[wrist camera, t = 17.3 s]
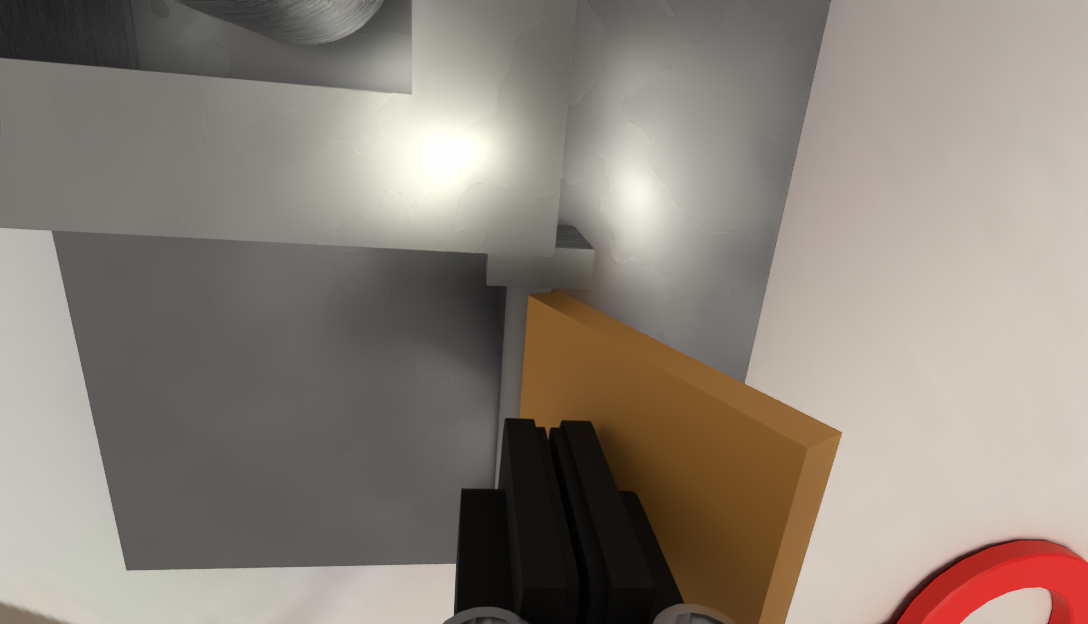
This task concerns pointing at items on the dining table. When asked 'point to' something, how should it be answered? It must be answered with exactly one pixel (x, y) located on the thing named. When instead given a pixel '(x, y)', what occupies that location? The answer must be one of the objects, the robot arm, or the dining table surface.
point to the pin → (292, 17)
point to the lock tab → (677, 448)
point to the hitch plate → (420, 331)
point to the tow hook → (1005, 583)
